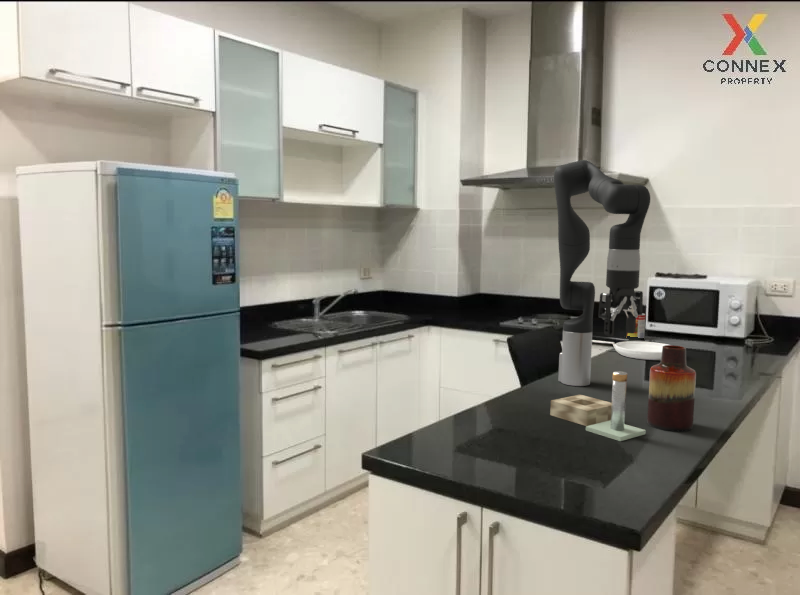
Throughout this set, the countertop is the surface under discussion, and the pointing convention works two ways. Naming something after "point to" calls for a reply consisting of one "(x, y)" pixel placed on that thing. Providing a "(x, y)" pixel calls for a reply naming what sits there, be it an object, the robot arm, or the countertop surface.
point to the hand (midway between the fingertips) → (619, 334)
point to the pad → (606, 431)
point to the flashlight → (618, 400)
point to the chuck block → (581, 409)
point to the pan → (638, 349)
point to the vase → (671, 391)
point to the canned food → (639, 327)
